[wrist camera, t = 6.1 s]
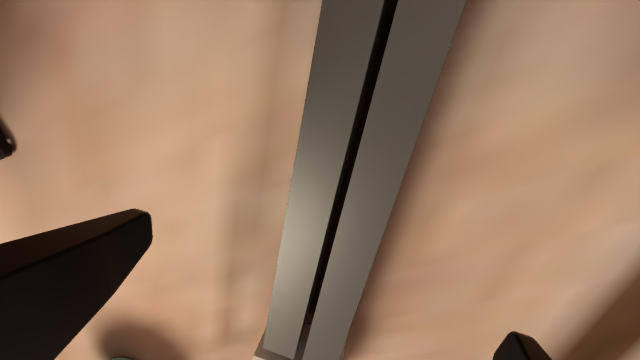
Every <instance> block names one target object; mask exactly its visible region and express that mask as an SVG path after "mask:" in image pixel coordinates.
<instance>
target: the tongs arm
mask: <svg viewBox="0 0 640 360" xmlns="http://www.w3.org/2000/svg"><path fill="white" fill-rule="evenodd" d="M389 4H390V0H322V6H321V12H320V18H319V24H318V29H317V35H316V41H315V47H314V53H313V59H312V64H311V70H310V76H309V82H308V88H307V93H306V99H305V105H304V111H303V117H302V123H301V128H300V134H299V140H298V146H297V152H296V157H295V163H294V169H293V175H292V181H291V186H290V192H289V198H288V204H287V210H286V216H285V221H284V227H283V233H282V239H281V245H280V250H279V256H278V262H277V268H276V274H275V280H274V285H273V291H272V297H271V303H270V309H269V314H268V320H267V326H266V332H265V338H264V344H263V349H266V350H269V351H272V352H274V353H277V354H280V355H283V356H285V357H288V358H291V359H293V360H294V357H295V354H296V351H297V348H298V345H299V342H300V339H301V336H302V334H303V331H304V328H305V325H306V322H307V319H308V315H309V312H310V308H311V304H312V300H313V296H314V292H315V289H316V285H317V281H318V277H319V273H320V269H321V265H322V262H323V258H324V254H325V250H326V246H327V242H328V239H329V235H330V231H331V227H332V223H333V219H334V216H335V212H336V208H337V204H338V200H339V196H340V192H341V189H342V185H343V181H344V177H345V173H346V169H347V166H348V162H349V158H350V154H351V150H352V146H353V142H354V139H355V135H356V131H357V127H358V123H359V119H360V116H361V112H362V108H363V104H364V100H365V96H366V93H367V89H368V85H369V81H370V77H371V73H372V69H373V66H374V62H375V58H376V54H377V50H378V46H379V43H380V39H381V35H382V31H383V27H384V23H385V19H386V16H387V12H388V8H389Z"/></svg>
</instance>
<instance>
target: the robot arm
mask: <svg viewBox="0 0 640 360" xmlns="http://www.w3.org/2000/svg"><path fill="white" fill-rule="evenodd" d="M11 155H12V149H11V147H10V145H9V144H8V143H7V141H6V140H5V138H4V137H3V135H2V134H1V133H0V160H1V159H4V158H6V157H9V156H11ZM152 239H153V235H152V221H151V216H150V214H149V213H148V212H145V211H142V210H139V209H129V210H125V211H122V212H118V213H114V214H110V215H107V216H103V217H99V218H96V219H92V220H88V221H84V222H81V223H77V224H73V225H69V226H66V227H62V228H58V229H54V230H51V231H47V232H43V233H39V234H36V235H32V236H28V237H24V238H21V239H17V240H13V241H10V242H6V243H2V244H0V360H54V359H55V358H56V357H57V356H58V355H59V354H60V353H61V352H62V350H63V349H64V348H65V347H66V346H67V345H68V344H69V343H70V342H71V341H72V339H73V338H74V337H75V336H76V335H77V334H78V333H79V332H80V331H81V330H82V329H83V327H84V326H85V325H86V324H87V323H88V322H89V321H90V320H91V319H92V318H93V317H94V315H95V314H96V313H97V312H98V311H99V310H100V309H101V308H102V307H103V306H104V305H105V303H106V302H107V301H108V300H109V299H110V298H111V297H112V295H113V294H114V293H115V292H116V290H117V289H118V288H119V287H120V285H121V284H122V283H123V281H124V280H125V279H126V277H127V276H128V275H129V273H130V272H131V271H132V269H133V268H134V267H135V265H136V264H137V263H138V261H139V260H140V259H141V257H142V256H143V255H144V253H145V252H146V251H147V249H148V248H149V247H150V245H151V243H152ZM493 360H552V359H551V358H550V357H549V355H548V354H547V353H546V352H545V351H544V350H543V349H542V347H541V346H540V345H539V344H538V343H537V342H536V341H535V340H534V339H533V338H532V337H530V336H528V335H525V334H522V333H518V332H515V331H512V332H510V333H509V334H508V335H507V336H506V338H505V339H504V340H503V342H502V343H501V344H500V346H499V347H498V349H497V350H496V351H495V353H494V356H493Z"/></svg>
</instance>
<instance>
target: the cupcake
mask: <svg viewBox="0 0 640 360" xmlns="http://www.w3.org/2000/svg"><path fill="white" fill-rule="evenodd" d="M112 360H132V359H129V358H124V357H117V358H114V359H112Z"/></svg>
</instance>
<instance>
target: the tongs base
mask: <svg viewBox="0 0 640 360" xmlns="http://www.w3.org/2000/svg"><path fill="white" fill-rule="evenodd" d="M465 3H466V0H398V3H397V7H396V11H395V15H394V18H393V22H392V26H391V29H390V33H389V37H388V41H387V44H386V48H385V52H384V56H383V59H382V63H381V67H380V71H379V74H378V78H377V82H376V86H375V89H374V93H373V97H372V101H371V104H370V108H369V112H368V116H367V119H366V123H365V127H364V131H363V134H362V138H361V142H360V145H359V149H358V153H357V157H356V160H355V164H354V168H353V172H352V175H351V179H350V183H349V187H348V190H347V194H346V198H345V202H344V205H343V209H342V213H341V217H340V220H339V224H338V228H337V232H336V235H335V239H334V243H333V247H332V250H331V254H330V258H329V261H328V265H327V269H326V273H325V276H324V280H323V284H322V288H321V291H320V295H319V299H318V303H317V306H316V310H315V314H314V318H313V321H312V325H311V324H308V323H306V325H305V328H304V331H303V334H302V336H301V339H300V342H299V345H298V348H297V351H296V354H295V357H294V360H343V358H344V353H345V348H346V343H347V338H348V337H347V335H348V332H349V329H350V326H351V323H352V321H353V318H354V315H355V312H356V309H357V307H358V304H359V301H360V298H361V295H362V293H363V290H364V287H365V284H366V281H367V278H368V276H369V273H370V270H371V267H372V264H373V262H374V259H375V256H376V253H377V250H378V248H379V245H380V242H381V239H382V236H383V233H384V231H385V228H386V225H387V222H388V219H389V217H390V214H391V211H392V208H393V205H394V203H395V200H396V197H397V194H398V191H399V188H400V186H401V183H402V180H403V177H404V174H405V172H406V169H407V166H408V163H409V160H410V158H411V155H412V152H413V149H414V146H415V143H416V141H417V138H418V135H419V132H420V129H421V127H422V124H423V121H424V118H425V115H426V113H427V110H428V107H429V104H430V101H431V98H432V96H433V93H434V90H435V87H436V84H437V82H438V79H439V76H440V73H441V70H442V68H443V65H444V62H445V59H446V56H447V53H448V51H449V48H450V45H451V42H452V39H453V37H454V34H455V31H456V28H457V25H458V23H459V20H460V17H461V14H462V11H463V8H464V6H465ZM265 332H266V329H265ZM265 332H264V334H263V336H262V338H261V340H260V343H259V345H258V347H257V349H256V351H255V353H254V356H253V360H293V359H291V358H288V357H285V356H283V355H280V354H277V353H274V352H272V351H269V350H266V349H263V344H264V338H265Z"/></svg>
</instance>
